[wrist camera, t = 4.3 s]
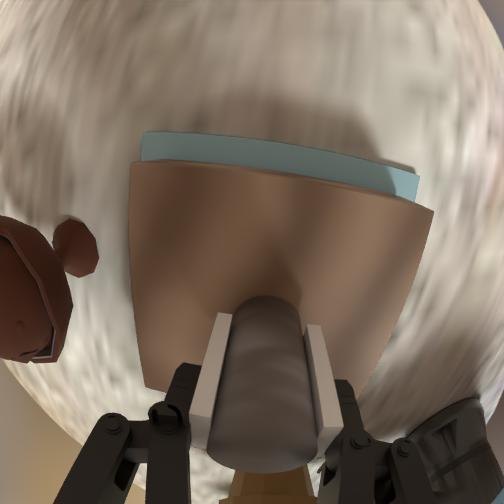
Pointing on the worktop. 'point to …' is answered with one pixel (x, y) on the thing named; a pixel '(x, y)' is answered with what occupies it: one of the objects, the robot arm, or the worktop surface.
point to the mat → (279, 160)
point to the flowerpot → (271, 488)
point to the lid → (266, 291)
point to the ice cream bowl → (39, 287)
